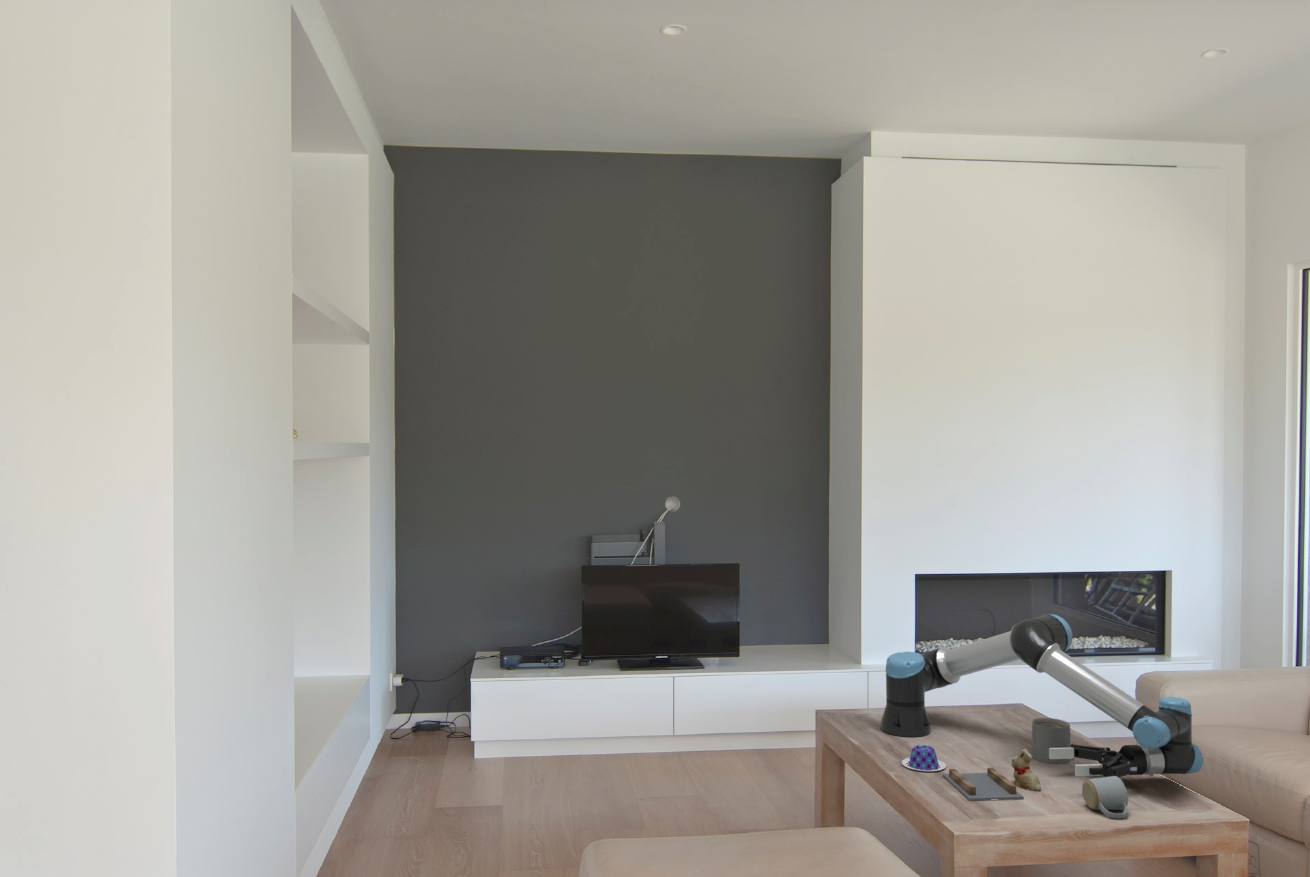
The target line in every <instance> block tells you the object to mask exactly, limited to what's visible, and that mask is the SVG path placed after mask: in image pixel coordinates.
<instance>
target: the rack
mask: <svg viewBox="0 0 1310 877" xmlns="http://www.w3.org/2000/svg"><path fill="white" fill-rule="evenodd" d="M986 773H987V775H988V776H989V777H990V778H991V779H993V780H994V781H995V782H996V783H997V784H999V785H1000V786H1001V787H1002V788H1004V789H1005V790H1006V791H1007V792H1008V793H1010V794H1016V791H1017V785H1016V784H1015V783H1013V782H1012V781H1011V780H1009V779H1008V778H1007V777H1006V776H1004V775H1003V774H1001V773H1000V772H999V771H998V770H996V769H995V768H994V767H987V771H986ZM948 774H949V777H950V778H951V779H953V780H954V781H955V782H956V783H957V784H958V785H959V786H960V787H961V788H963V789H964V790H965V791H966V792H967V793H968V794H969V795H976V787H975V786H974V785H973V784H972V783H970V782H969V781H968V780H967V779H966V778H965V777H963V776H962V775H961V773H960V772H959V771H958V770H957V769H955V768H949V769H948Z"/></svg>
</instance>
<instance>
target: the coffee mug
mask: <svg viewBox="0 0 1310 877" xmlns="http://www.w3.org/2000/svg"><path fill="white" fill-rule="evenodd" d="M1031 722H1032V723H1031V727H1032V728H1031V732H1032V737H1031V738H1032V740H1031V741H1032V758H1034V759H1035V760H1036V761H1039V762H1042V761H1044V763H1047V764H1048V763H1049V764H1054V763H1062V764H1067V763H1069V762H1071V759H1050V758H1049V748H1071V746H1070V745H1071V736H1072V735H1071V724H1070V722H1068V721H1066V720H1063V719H1058V718H1051V717H1040V718H1039V717H1038V718H1037V717H1036V718H1034V719H1032V721H1031Z"/></svg>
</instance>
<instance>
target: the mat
mask: <svg viewBox="0 0 1310 877" xmlns="http://www.w3.org/2000/svg"><path fill="white" fill-rule="evenodd" d="M960 774H961V775H962V776H963V777H965V778H966V779H967V780H968V781H969V782H970V783H972V784H973V785H974V786H975V787H976V795H969V794H968V793H967V792H966V791H965V790H964V789H963V788H961V787H960V786H959V785H958V784H957V783H956V782H955V781H954V780H953V779H951V778H950V777H949V773H942V777H943V778H944V779H945V780H946V781H947V782H948V783H950V784H951V786H952V787H954V789H956V790H957V792H959V793H960V794H962V796H964V797H965V798H966V799H967V801H970V802H973V801H975V802H976V801H977V802H978V801H980V802H981V801H992V800H991V799H1014V800H1021V799H1020V798H1024V799H1025V797H1024V796H1023V795H1022V793H1020V792H1018V791H1017V790H1016V794H1010V793H1008V792H1007V791H1006V790H1005V789H1004V788H1002V787H1001V786H1000V785H999V784H997V783H996V782H995V781H994V780H993V779H991V778H990V777H989V776H988V775H987V772H969V773H968V772H967V773H966V772H965V773H960Z"/></svg>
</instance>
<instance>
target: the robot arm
mask: <svg viewBox="0 0 1310 877" xmlns="http://www.w3.org/2000/svg"><path fill="white" fill-rule="evenodd" d="M1072 642H1073V631H1072V628H1071V626H1070V625H1069V623H1068V622H1067V621H1066V620H1065V619H1064V618H1062V617H1061V616H1059V615H1057V614H1051V613H1050V614H1049V613H1045V614H1043V615H1041V616H1035V617H1033V618H1028V619H1023V620H1022V621H1020V622H1018V623H1015V624H1014V625H1012V627H1011V630H1010V631H1007V632H1003V633H1001V634H997V635H994V636H990V637H987V638H985V639H981V640H977V641H974V642H971V643H969V644H965V645H962V646H958V647H956V648H952V649H950V648H949V647H946V646H942V647H938V648H936V649H931V650H929V651H925V652H922V653H918V652H915V651H902V652H900V651H899V652H895V653H892V654H890V655H888V657H887V658H886V662H885V663H886V664H885V688H886V689H885V690H886V692H885V693H886V694H885V695H886V704H885V706H884V710H883V714H882V716H881V720H880V729H881V731H883V732H884V733H886V734H888V735H893V736H898V737H908V738H915V737H918V738H919V737H923V736H927V735H930V734H931V730H932V728H931V721H930V719H929V715H928V712H927V710H926V705H925V702H926V701H925V693H926V692H927V693H928V692H930V691H933V690H936V689H941V688H945V687H947V686H950V685H951V686H952V685H953V684H956V683H958V682H959V680H961V677H963V676H967V675H971V674H974V673H977V672H981V671H984V670H989V669H992V668H995V667H999V666H1002V665H1006V664H1009V663H1012V662H1016V661H1020V660H1021V661H1022V662H1023V663H1025V664H1026V665H1027V666H1028V667H1030V668H1031V669H1033V670H1034V671H1036V672H1037V673H1038V674H1042V673H1045V674H1046V675H1048V676H1050V677H1051V678H1053V679H1054V680H1055V681H1057V682H1059V683H1060V684H1062V685H1063V686H1065V687H1066V688H1067V689H1069V690H1070V691H1072V692H1073V693H1075V694H1076V695H1078V696H1079V697H1081V699H1084V701H1086V702H1088V703H1089V704H1091V705H1092V706H1094V707H1095V708H1097V709H1098V710H1100V711H1101V712H1103V713H1104V714H1106V715H1107V716H1108V717H1110V718H1111V719H1113V720H1115V721H1116V722H1117V723H1119V724H1120V725H1121V726H1123V727H1125V728H1127V729H1128V730H1130V731H1131V733H1132V735H1133V738H1134V739H1135V740H1136V742H1137V743H1138V744H1124V745H1122V746H1121V747H1120V749H1119V750H1118V751H1117V750H1111V748H1110V747H1105V746H1104V747H1102V746H1101V747H1099V746H1091V745H1082V744H1081V745H1080V744H1071V743H1070V748H1049V758H1050V759H1070V760H1073V761H1074V760H1075V758H1077V759H1078V758H1079V759H1083V760H1090V761H1095V762H1098V763H1096V764H1095V763H1092V764H1091V763H1090V764H1084V763H1083V764H1074V776H1075V777H1096V776H1097V777H1099V776H1101V777H1102V776H1103V777H1111V776H1117V777H1119V778H1122V777H1125V776H1143V775H1149V777H1153V776H1154V775H1173V774H1174V775H1177V774H1178V775H1187V774H1194V773H1195V774H1196V773H1198V772H1200V771H1201V770H1202V769H1203V767H1204V757H1203V756H1202V754H1203V752H1202V750H1201V749H1200V747H1199V746H1198V745H1197V744H1195V743H1193V742H1192V740H1193V739H1192V738H1193V736H1192V735H1193V734H1192V732H1193V731H1192V728H1193V727H1192V726H1193V725H1192V720H1193V719H1192V718H1193V714H1192V705H1191V702H1190V701H1189V700H1187V699H1185V698H1181V697H1175V696H1174V697H1173V696H1163V697H1161V698H1159V700H1158V702H1159V703H1158V707H1157V709H1158V710H1157V711H1154V710H1152V709H1151V708H1149V707H1148V706H1146V705H1145V704H1143V703H1141V702H1140V701H1139V700H1138V699H1135V698H1134V697H1133V696H1131V695H1129V694H1128V693H1126V692H1125V691H1124V690H1122V689H1121V688H1119V687H1117V686H1115V684H1113V683H1111V682H1110V681H1108V680H1106V679H1105V678H1104V677H1102V676H1101V675H1099V674H1098V673H1097V672H1095V671H1093V670H1092V669H1090V668H1089V667H1087V666H1086V665H1084V664H1083V663H1081V662H1080V661H1078V660H1076V659H1075V658H1073V657H1072V656H1070V655H1069V654H1067V653H1066V652H1067V651H1068V650H1070V647H1071V645H1072V644H1073V643H1072Z"/></svg>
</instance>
